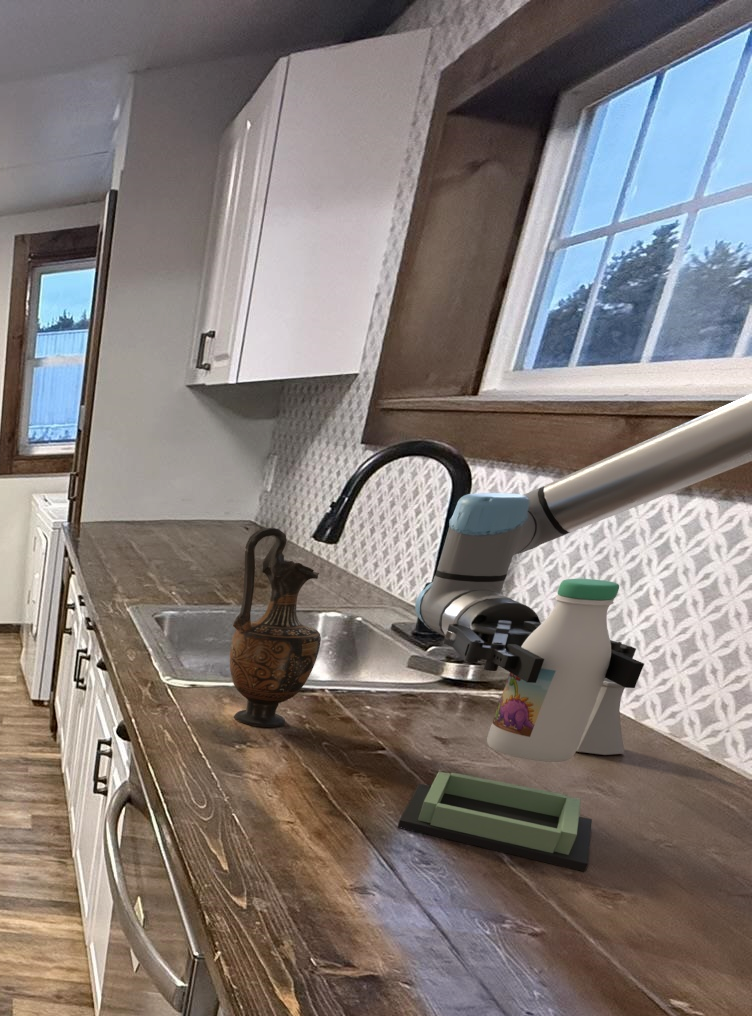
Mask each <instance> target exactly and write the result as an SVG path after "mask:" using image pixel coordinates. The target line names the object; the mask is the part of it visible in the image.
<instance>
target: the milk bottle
mask: <svg viewBox="0 0 752 1016" xmlns="http://www.w3.org/2000/svg"><path fill="white" fill-rule="evenodd" d="M619 590H620V584H619V583H617V582H614V581H609V580H603V579H593V578H567V579H563V580H562V581H561V582H560V584H559V586H558V589H557V595H556V597H554V599H555V600H556V604H555V606H554V608H553V609H552V610H551V612H550V613H549V614H548V616H547V617H546V618H545V620H543V622H541V623H542V624H541V625H540V626H539V627H538V628H537V629H536V630H534V631H533V632H532V633H531V634H530V636H529V637H528V638H527V639H526V640H525V642H524V643H523V645H522V646H521V647H522V648H524V649H526V650H528V651H530V652H532V653H533V654H535V655H537V656H539V657H541V658H543V659H544V661H543V664H542V667H541V670H540V673H539V675H538V678H537V681H536V683H528V682H526V681H524V680H522V679H521V678H519V677H517V676H515V675H514V674H512V673H510V672H509V674H508V677H507V680H506V682H505V685H504V688H503V691H502V693H501V697H500V699H499V702H498V705H497V708H496V710H495V713H494V717H493V719H492V722H491V725H490V728H489V731H488V735H487V738H486V743H487V746H488V747H489V748H491V749H492V750H493V751H496V752H499V753H501V754H504V755H507V756H511V757H514V758H518V759H524V760H527V761H529V760H530V761H535V762H547V763H558V762H559V763H560V762H561V763H562V762H566V761H569V760H571V759H573V757H574V756H575V754H576V752H577V751H576V750H577V748H578V745H579V743H580V740H581V738H582V735H583V733H584V730H585V728H586V725H587V723H588V720H589V718H590V715H591V712H592V710H593V707H594V705H595V702H596V700H597V697H598V694H599V692H600V689H601V687H602V684H603V681H604V679H605V676H606V673H607V670H608V667H609V663H610V658H611V643H610V640H611V638H610V634H609V630H608V623H607V622H608V621H607V620H608V618H607V617H608V610H609V607H610V606H611V605H613V604H614V601H615V598H616V597H617V595H618V593H619Z"/></svg>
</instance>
